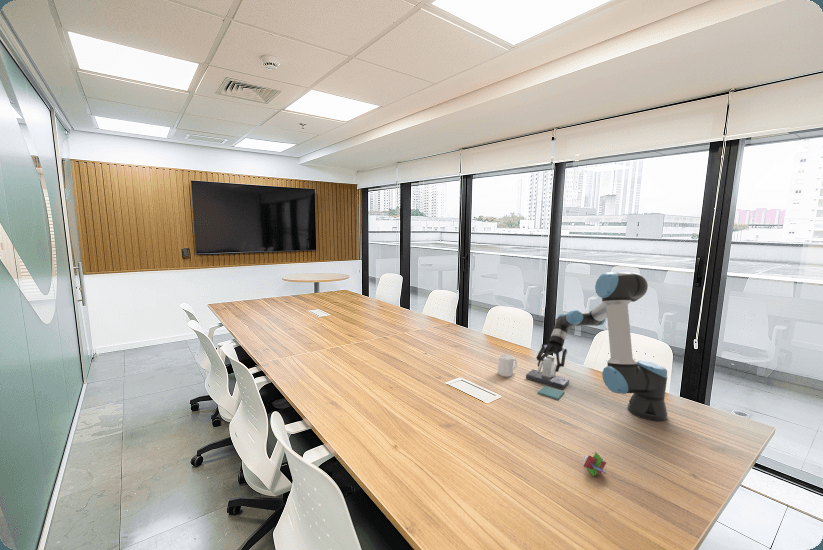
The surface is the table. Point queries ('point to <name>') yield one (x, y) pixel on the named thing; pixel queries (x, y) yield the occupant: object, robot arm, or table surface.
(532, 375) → the block
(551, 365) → the steel peg
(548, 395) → the teal mat
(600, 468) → the geometric puzzle
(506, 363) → the mug
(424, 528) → the table surface
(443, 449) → the table surface
